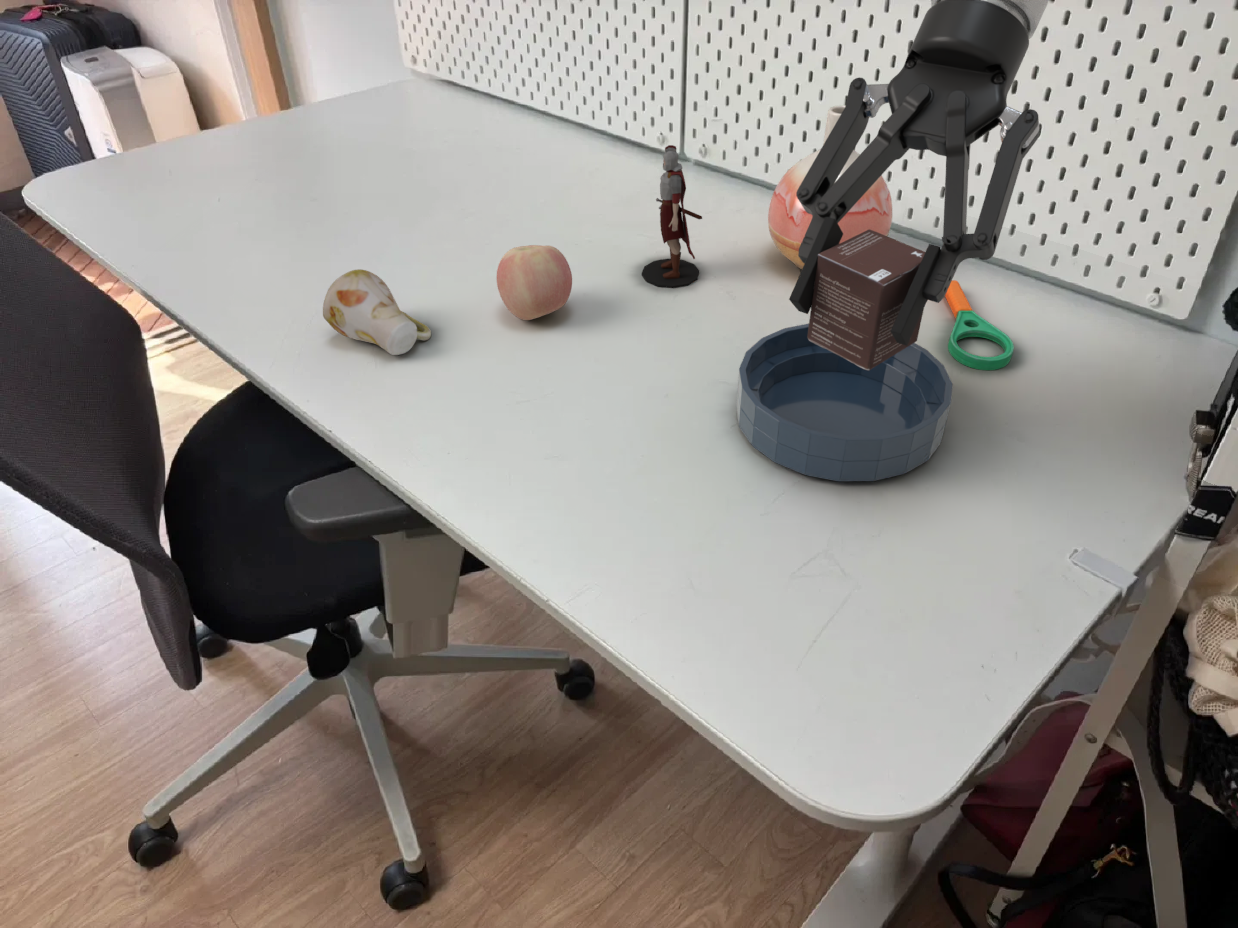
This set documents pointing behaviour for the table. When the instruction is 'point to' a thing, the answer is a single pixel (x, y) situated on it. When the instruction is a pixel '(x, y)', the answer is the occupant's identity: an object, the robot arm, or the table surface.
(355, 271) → the mug
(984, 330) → the magnifying glass
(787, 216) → the vase
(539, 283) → the apple
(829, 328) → the box
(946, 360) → the table surface
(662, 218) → the figurine
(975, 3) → the robot arm
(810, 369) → the bowl
